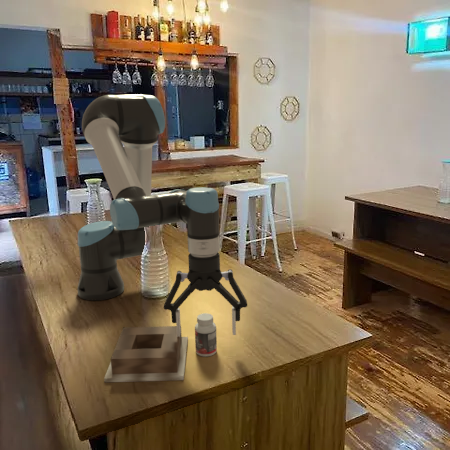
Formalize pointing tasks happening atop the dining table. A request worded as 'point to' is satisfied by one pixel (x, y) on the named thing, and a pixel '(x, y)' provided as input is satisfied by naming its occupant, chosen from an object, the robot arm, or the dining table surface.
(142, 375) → the socket block
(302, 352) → the dining table surface
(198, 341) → the pill bottle
